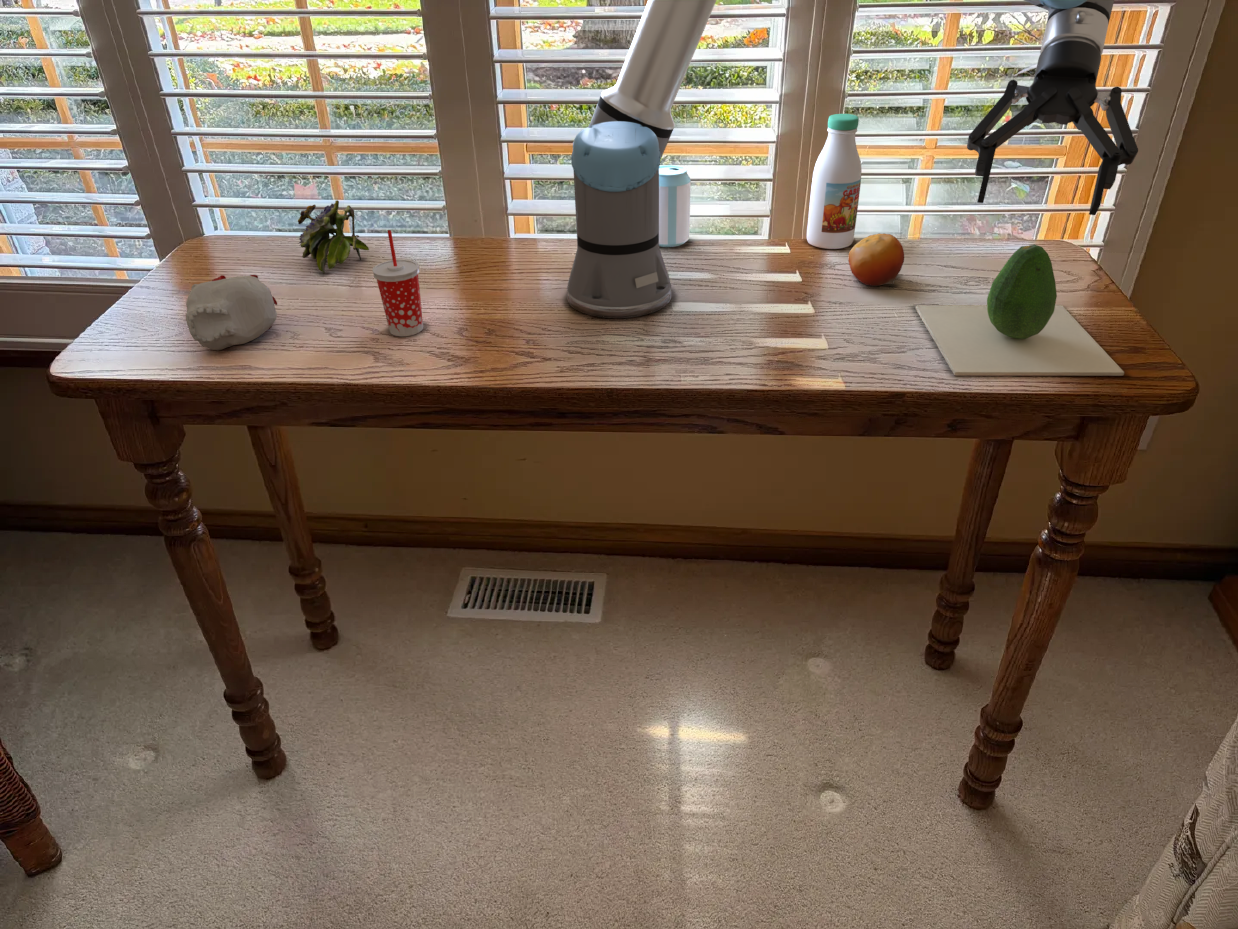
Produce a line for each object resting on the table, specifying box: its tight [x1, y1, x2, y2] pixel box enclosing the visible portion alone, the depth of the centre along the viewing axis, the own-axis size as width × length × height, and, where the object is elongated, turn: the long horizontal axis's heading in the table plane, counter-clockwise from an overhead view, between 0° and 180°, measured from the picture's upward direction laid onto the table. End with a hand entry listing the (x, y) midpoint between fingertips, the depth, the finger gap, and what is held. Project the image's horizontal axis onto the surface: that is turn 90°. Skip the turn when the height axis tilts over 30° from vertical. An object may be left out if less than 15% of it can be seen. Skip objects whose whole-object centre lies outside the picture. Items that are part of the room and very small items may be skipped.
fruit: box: [847, 233, 905, 287], centre depth 129 cm, size 8×8×8 cm
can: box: [659, 164, 692, 248], centre depth 143 cm, size 7×7×12 cm
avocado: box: [986, 244, 1058, 339], centre depth 109 cm, size 8×8×12 cm
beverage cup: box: [371, 229, 424, 337], centre depth 116 cm, size 6×6×14 cm
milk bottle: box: [806, 113, 862, 250], centre depth 139 cm, size 8×8×20 cm
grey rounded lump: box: [185, 274, 278, 351], centre depth 117 cm, size 9×11×15 cm
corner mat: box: [915, 304, 1125, 377], centre depth 113 cm, size 20×20×1 cm
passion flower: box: [297, 199, 370, 275], centre depth 140 cm, size 11×11×12 cm
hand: (1036, 204), depth 112 cm, fingers open, 13 cm apart
